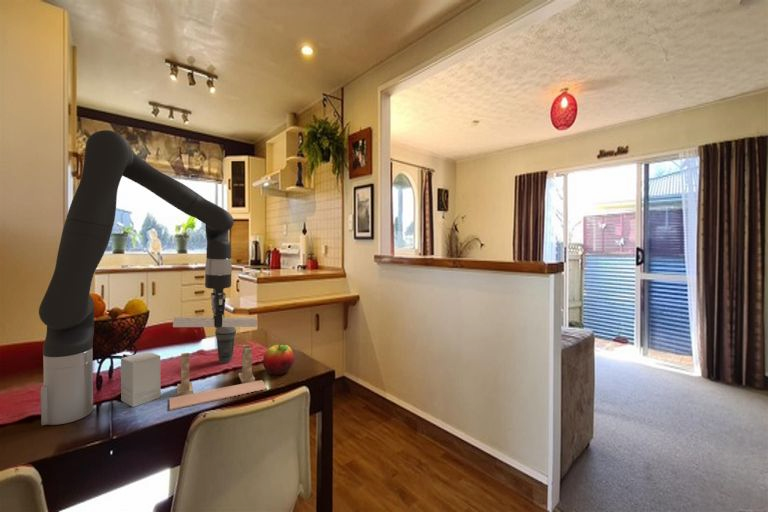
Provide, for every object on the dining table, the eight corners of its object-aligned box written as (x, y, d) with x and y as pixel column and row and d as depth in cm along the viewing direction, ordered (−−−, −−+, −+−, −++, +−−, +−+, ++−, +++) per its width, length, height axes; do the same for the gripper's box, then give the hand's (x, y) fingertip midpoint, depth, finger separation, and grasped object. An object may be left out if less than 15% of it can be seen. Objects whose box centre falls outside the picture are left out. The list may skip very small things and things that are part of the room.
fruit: (284, 363, 126) (285, 338, 126) (299, 372, 119) (300, 345, 118) (257, 370, 119) (257, 343, 118) (271, 380, 111) (271, 351, 110)
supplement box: (161, 397, 97) (161, 355, 97) (132, 408, 91) (132, 363, 90) (149, 390, 101) (149, 350, 100) (120, 400, 95) (119, 357, 94)
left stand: (177, 396, 98) (177, 360, 98) (177, 387, 103) (177, 353, 103) (193, 393, 100) (193, 357, 100) (191, 385, 106) (192, 351, 105)
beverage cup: (227, 365, 122) (228, 312, 121) (210, 363, 123) (210, 311, 122) (239, 359, 129) (240, 308, 128) (223, 357, 131) (224, 307, 130)
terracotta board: (169, 410, 90) (169, 408, 90) (169, 399, 96) (169, 398, 96) (267, 389, 104) (267, 388, 104) (262, 381, 110) (262, 379, 110)
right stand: (242, 383, 108) (242, 350, 107) (238, 376, 113) (239, 345, 113) (254, 381, 110) (255, 348, 110) (251, 374, 116) (251, 343, 115)
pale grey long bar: (173, 327, 98) (174, 319, 98) (172, 325, 100) (173, 317, 100) (256, 326, 111) (257, 319, 111) (254, 325, 113) (255, 318, 113)
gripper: (203, 270, 109) (202, 322, 110) (207, 275, 97) (206, 333, 98) (228, 270, 113) (227, 320, 114) (234, 274, 101) (233, 330, 102)
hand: (217, 325), depth 106 cm, fingers closed on pale grey long bar, 2 cm apart
